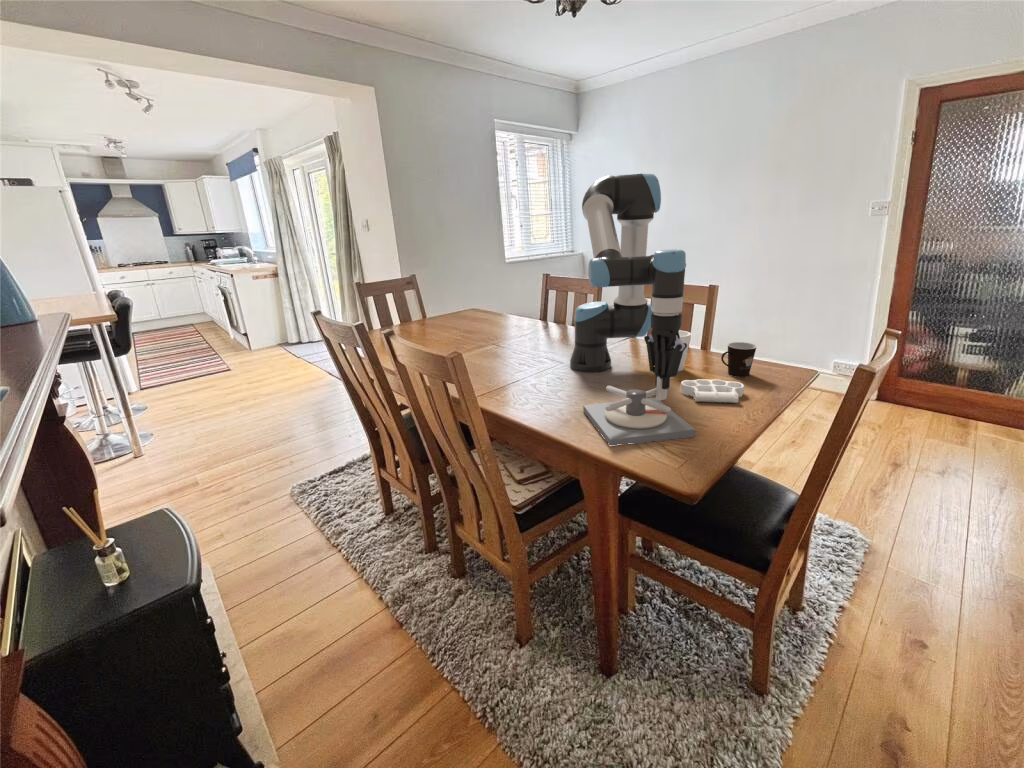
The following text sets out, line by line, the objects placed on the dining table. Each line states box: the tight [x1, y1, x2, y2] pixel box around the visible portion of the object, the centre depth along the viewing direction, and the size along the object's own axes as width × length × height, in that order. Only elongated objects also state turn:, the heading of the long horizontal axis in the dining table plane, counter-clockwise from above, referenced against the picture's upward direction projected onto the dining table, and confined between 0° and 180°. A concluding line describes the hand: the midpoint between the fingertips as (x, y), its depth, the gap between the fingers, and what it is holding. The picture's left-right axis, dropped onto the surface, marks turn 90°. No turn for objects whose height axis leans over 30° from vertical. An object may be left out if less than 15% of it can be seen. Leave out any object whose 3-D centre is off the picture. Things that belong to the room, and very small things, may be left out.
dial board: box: [582, 397, 696, 446], centre depth 123 cm, size 22×22×2 cm
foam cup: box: [677, 329, 692, 373], centre depth 161 cm, size 10×9×13 cm
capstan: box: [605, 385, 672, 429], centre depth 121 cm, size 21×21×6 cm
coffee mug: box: [720, 341, 757, 378], centre depth 153 cm, size 12×9×10 cm
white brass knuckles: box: [679, 378, 745, 404], centre depth 139 cm, size 3×18×15 cm
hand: (661, 398), depth 124 cm, fingers closed
